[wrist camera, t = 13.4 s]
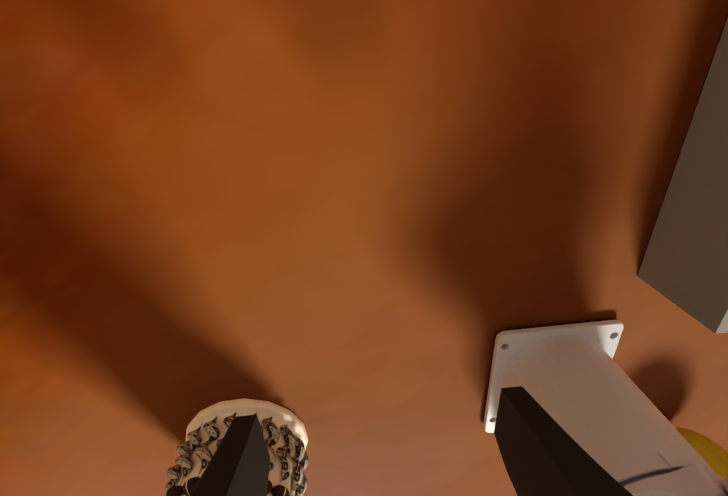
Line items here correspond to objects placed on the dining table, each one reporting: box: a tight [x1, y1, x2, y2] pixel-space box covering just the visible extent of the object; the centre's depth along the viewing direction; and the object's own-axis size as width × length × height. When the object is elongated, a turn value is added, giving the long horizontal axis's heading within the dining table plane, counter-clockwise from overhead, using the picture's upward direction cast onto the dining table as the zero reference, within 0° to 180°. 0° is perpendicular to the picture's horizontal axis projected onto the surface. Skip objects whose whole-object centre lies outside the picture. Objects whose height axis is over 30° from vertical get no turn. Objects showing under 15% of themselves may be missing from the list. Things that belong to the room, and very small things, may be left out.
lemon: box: [675, 427, 728, 479], centre depth 25 cm, size 6×6×8 cm
